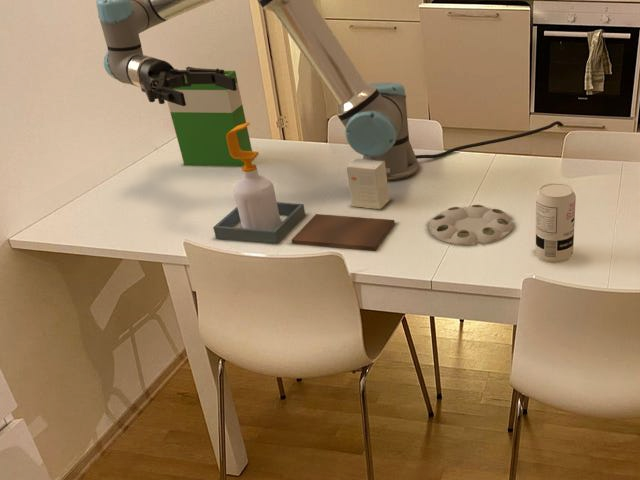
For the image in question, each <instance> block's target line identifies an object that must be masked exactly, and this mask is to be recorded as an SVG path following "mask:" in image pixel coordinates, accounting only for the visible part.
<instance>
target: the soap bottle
mask: <svg viewBox="0 0 640 480" xmlns="http://www.w3.org/2000/svg"><path fill="white" fill-rule="evenodd" d="M249 125H251V123H250V122H249V121H248V122H246V123H244V124H241V125H238V126H236V127H235V128H234V129H232V130H231V131H229V132H228V133H227V134H226V139H227V144H228V148H229V152H230V155H231V157H232V158H234V159H241V161H242V162H244V164H245V165H244V166H241V171H242V175H243V176H242V177H241V178H240V179H239V180H238V181H236V183H235V184H234V186H233V195H234V200H235V203H236V207H237V208H238V212H239V216H240V221H239V222H240V225H241V228H249V229H261V230H273V231H274V230H275V229H276V228H277V227H278V226H279V225H280V224H281V223H282V221H281V215H279V211H278V206H277V202H278V201H277V196H276V191H275V186H274V183H273V182H272V181H271V179H269V178H267V177H265V176H263V175H260V174H259V171H258V167H257V165H256V164H253V161H254V160H255V158H256V157H258V155H259V151H254V150H252V151H242V150H241V149H240V147H239V143H238V138H237V134H236V131H239V130H242V129H244V128H245V127H247V128H248V126H249Z"/></svg>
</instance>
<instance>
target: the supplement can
mask: <svg viewBox="0 0 640 480" xmlns="http://www.w3.org/2000/svg"><path fill="white" fill-rule="evenodd" d="M538 189H539V190H538V192H537V194H536V195H535V245H534V247H535V250H534V254H535V255H536V257H538V258H539V259H540V260H541V261H544V262H546V263H562V262H565V261H567V260H569V259H570V258H571V257H573V255H574V241H575V239H574V238H575V222H576V201H577V200H576V199H577V198H576V197H577V196H576V193H575V192H574V188H573V187H572V186H570V185H568V184H566V183H565V184H564V183H559V182H556V183H554V182H553V183H547V184H544V185H542V186H540V188H538Z"/></svg>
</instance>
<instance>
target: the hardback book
mask: <svg viewBox="0 0 640 480" xmlns="http://www.w3.org/2000/svg"><path fill="white" fill-rule="evenodd" d="M224 72H225V75H226V76H229V77H233V78H235V83H236V88H237V90H236V91H233V90H229V89H226V88H223V87H219V86H216V84H192V85H191V86H190V87H180V88H173V90H176V91H179V92H182V93H183V94H184V98H185V102H186V106H181V105H178V104H175V103H172V102H169V101H166V102H167V105H168V109H169V113H170V118H171V120H172V125H173V128H174V131H175V135H176V139H177V142H178V143H177V144H178V146H179V151H180V154H181V157H182V161H183V165H184V166H202V167H203V166H205V167H206V166H207V167H208V166H209V167H242V166H244V165H245V164H244V162H242V161H241V159H234V158H232V157H231V155H230V152H229V148H228V144H227V139H226V134H227V133H228V132H229V131H231V130H232V129H234V128H235V127H236V126H238V125H241V124H244V123H247V119H246V115H245V109H244V105H243V102H242V101H243V100H242V96H241V90H240V86H239V82H238V77H237V72H236V70H224ZM185 83H188V82H187V78H186V77H185ZM236 134H237V138H238V143H239V147H240V149H241V150H242V151H253V148H252V144H251V139H250V135H249V130H248V126H247V127H245V128H244V129H242V130H239V131H236Z"/></svg>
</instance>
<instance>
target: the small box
mask: <svg viewBox="0 0 640 480" xmlns="http://www.w3.org/2000/svg"><path fill="white" fill-rule="evenodd" d="M345 167H346V175H347V181H348V188H349V193H350V199H351V206H352V207H357V208H365V209H376V210H381V209H382V208H384V207H385V206H386V204H387V203H389V202H390V199H391V198H390V193H389V191H390V190H389V185H388V181H387V175H386V167H385V161H379V160H368V159H363V158H355V159H354V160H353V161H351V162H350V163H349V164H348V165H346V166H345Z"/></svg>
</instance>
